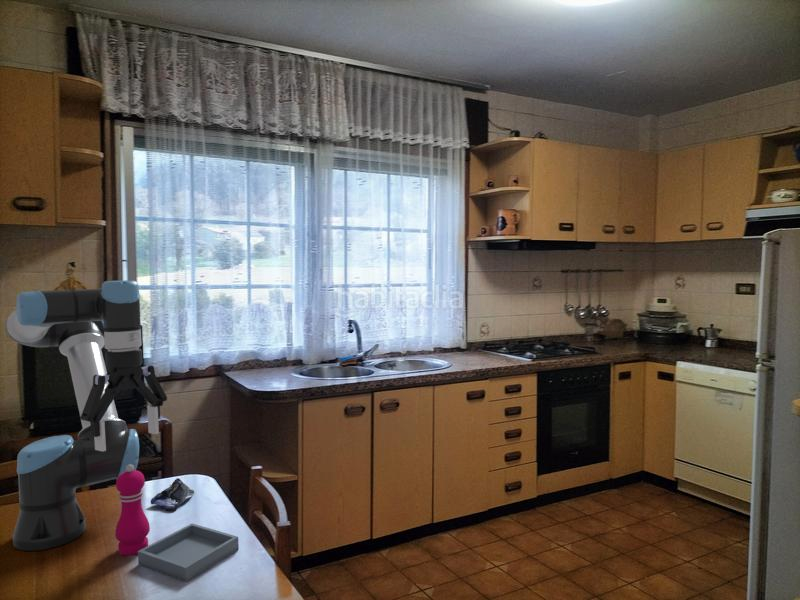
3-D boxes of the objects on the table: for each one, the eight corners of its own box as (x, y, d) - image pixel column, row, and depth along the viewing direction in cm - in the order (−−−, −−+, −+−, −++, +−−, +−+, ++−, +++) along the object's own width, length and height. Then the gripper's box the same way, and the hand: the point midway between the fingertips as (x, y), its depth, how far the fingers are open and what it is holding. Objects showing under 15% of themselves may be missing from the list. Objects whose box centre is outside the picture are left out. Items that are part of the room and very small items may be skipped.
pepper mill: (137, 558, 129) (133, 471, 128) (109, 555, 131) (104, 469, 129) (156, 542, 136) (153, 460, 135) (129, 540, 138) (125, 458, 136)
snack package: (206, 503, 159) (190, 489, 168) (201, 482, 158) (185, 469, 167) (162, 524, 152) (148, 508, 161) (156, 502, 150) (143, 487, 159)
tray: (138, 564, 127) (137, 551, 127) (192, 535, 140) (192, 523, 140) (186, 581, 120) (185, 567, 119) (238, 549, 133) (238, 536, 132)
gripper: (80, 358, 117) (86, 460, 119) (180, 342, 139) (183, 428, 141) (58, 356, 121) (64, 455, 123) (158, 340, 143) (162, 425, 144)
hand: (128, 441), depth 132 cm, fingers open, 13 cm apart
